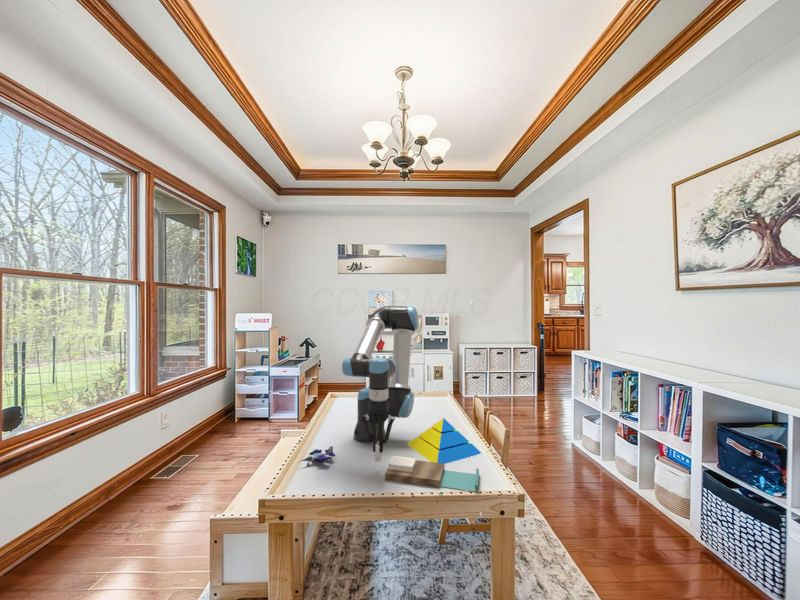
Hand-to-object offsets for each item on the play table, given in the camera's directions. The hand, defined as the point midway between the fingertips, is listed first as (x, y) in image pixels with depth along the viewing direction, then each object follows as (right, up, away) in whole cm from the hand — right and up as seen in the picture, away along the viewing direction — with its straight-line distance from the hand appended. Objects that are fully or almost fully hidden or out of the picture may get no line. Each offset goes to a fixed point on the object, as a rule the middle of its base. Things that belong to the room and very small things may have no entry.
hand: (378, 460), depth 133 cm
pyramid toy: (+28, -5, +20) cm, 34 cm away
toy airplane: (-25, -4, +6) cm, 26 cm away
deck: (+14, -4, -4) cm, 15 cm away
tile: (+9, -1, -2) cm, 10 cm away
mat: (+30, -4, -8) cm, 31 cm away
